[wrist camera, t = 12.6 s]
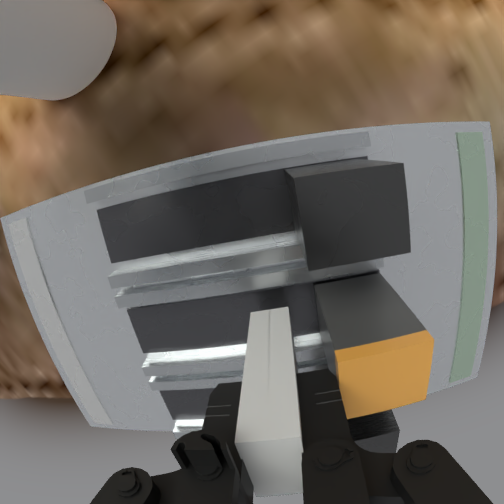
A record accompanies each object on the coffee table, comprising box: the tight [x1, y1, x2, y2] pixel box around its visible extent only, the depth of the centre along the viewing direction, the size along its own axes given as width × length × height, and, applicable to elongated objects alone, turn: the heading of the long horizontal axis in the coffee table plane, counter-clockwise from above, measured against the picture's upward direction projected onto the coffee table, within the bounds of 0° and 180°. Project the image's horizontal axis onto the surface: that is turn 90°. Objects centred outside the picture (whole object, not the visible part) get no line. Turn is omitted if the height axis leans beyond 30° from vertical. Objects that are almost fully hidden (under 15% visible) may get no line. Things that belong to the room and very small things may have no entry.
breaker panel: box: [0, 122, 497, 453], centre depth 13 cm, size 26×15×7 cm, turn 101°
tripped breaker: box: [314, 273, 434, 419], centre depth 11 cm, size 3×2×6 cm
